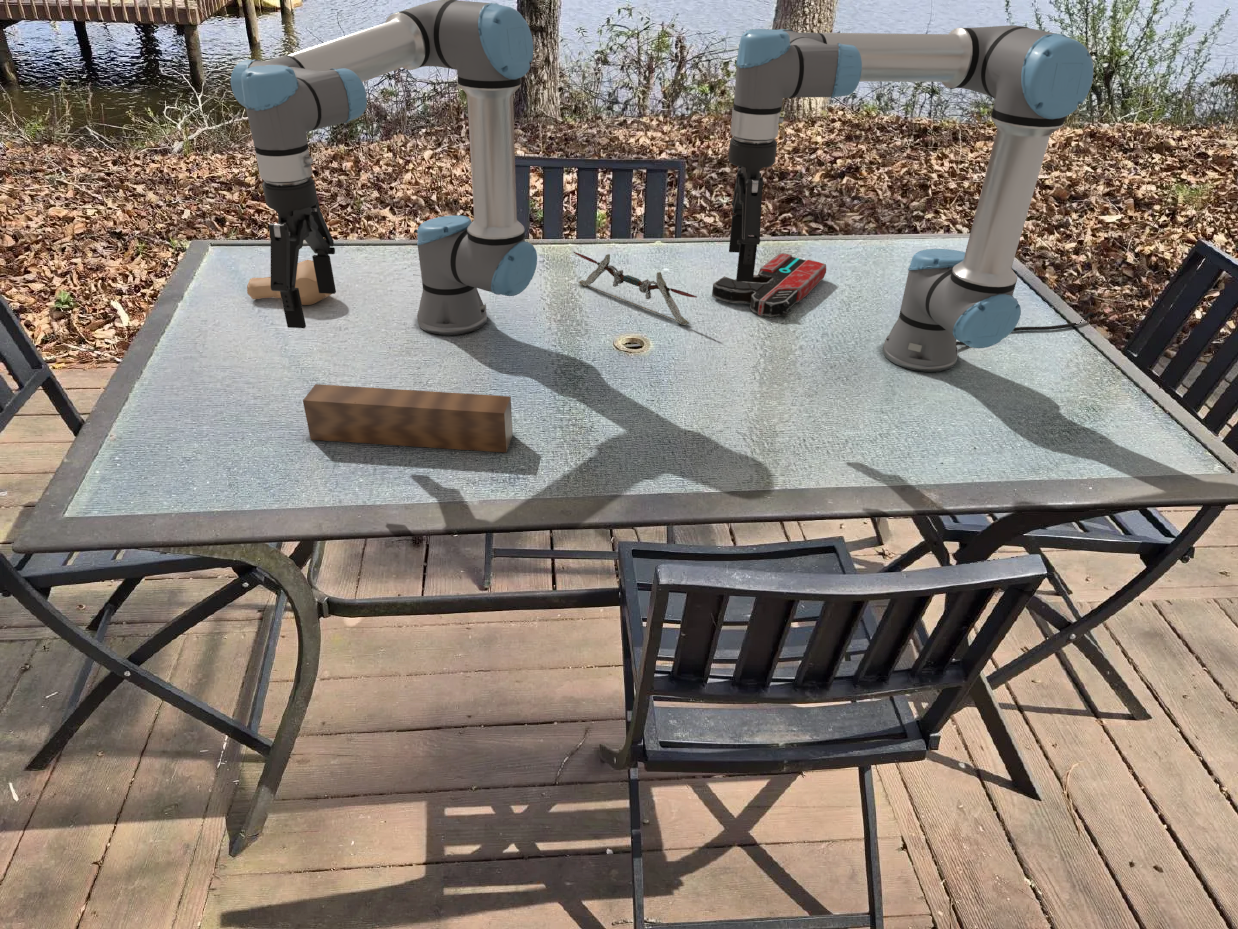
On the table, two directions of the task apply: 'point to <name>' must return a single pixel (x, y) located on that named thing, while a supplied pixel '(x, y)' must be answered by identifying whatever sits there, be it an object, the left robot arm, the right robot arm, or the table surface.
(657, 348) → the table surface
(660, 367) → the table surface
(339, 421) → the bar
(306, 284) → the squash
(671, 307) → the bow
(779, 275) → the gun
